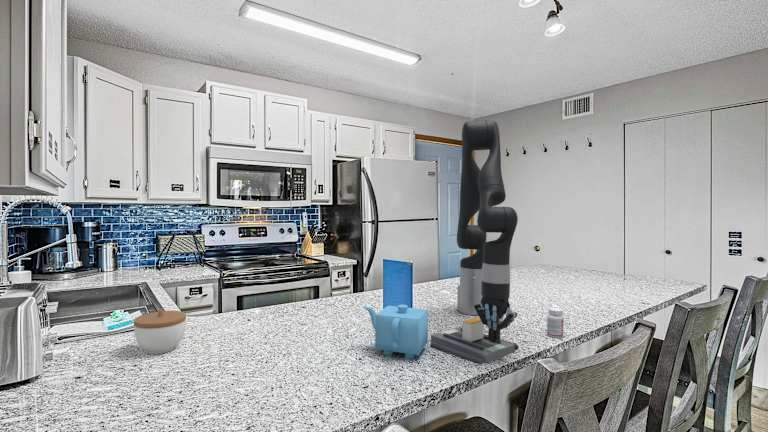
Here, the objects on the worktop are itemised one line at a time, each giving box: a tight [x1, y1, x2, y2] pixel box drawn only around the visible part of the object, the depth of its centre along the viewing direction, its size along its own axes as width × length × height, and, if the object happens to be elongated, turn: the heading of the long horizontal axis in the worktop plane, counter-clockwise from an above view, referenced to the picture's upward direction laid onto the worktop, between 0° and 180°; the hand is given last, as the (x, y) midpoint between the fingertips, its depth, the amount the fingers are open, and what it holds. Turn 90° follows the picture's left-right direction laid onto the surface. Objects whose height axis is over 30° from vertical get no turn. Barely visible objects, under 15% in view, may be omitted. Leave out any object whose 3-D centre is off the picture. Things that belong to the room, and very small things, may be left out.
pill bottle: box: [546, 307, 565, 339], centre depth 126 cm, size 5×5×8 cm
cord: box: [430, 342, 483, 364], centre depth 109 cm, size 17×1×1 cm, turn 44°
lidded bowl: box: [133, 308, 187, 355], centre depth 110 cm, size 13×13×11 cm
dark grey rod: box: [484, 333, 520, 350], centre depth 121 cm, size 19×1×1 cm, turn 39°
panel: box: [430, 326, 515, 364], centre depth 115 cm, size 20×13×3 cm, turn 39°
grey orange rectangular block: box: [461, 317, 485, 342], centre depth 115 cm, size 3×6×5 cm, turn 129°
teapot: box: [362, 304, 429, 360], centre depth 112 cm, size 18×16×13 cm
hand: (494, 342), depth 109 cm, fingers closed
